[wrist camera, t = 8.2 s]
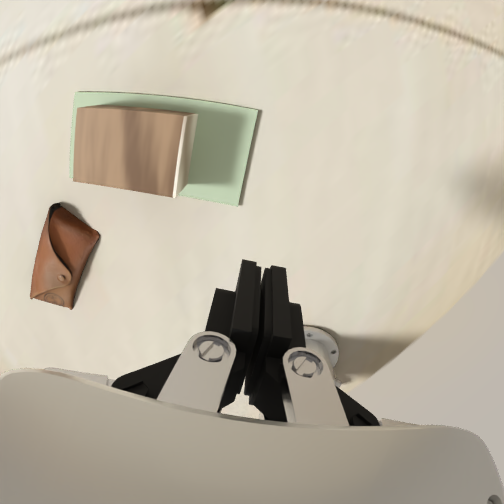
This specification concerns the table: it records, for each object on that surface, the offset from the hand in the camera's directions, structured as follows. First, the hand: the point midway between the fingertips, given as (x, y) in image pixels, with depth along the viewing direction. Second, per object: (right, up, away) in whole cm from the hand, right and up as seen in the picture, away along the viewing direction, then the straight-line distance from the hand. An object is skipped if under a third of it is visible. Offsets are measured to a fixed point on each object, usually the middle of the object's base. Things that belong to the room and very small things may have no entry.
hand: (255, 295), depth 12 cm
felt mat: (-11, +14, +20) cm, 27 cm away
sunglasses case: (-28, 0, +28) cm, 40 cm away
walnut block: (-7, +12, +18) cm, 22 cm away
